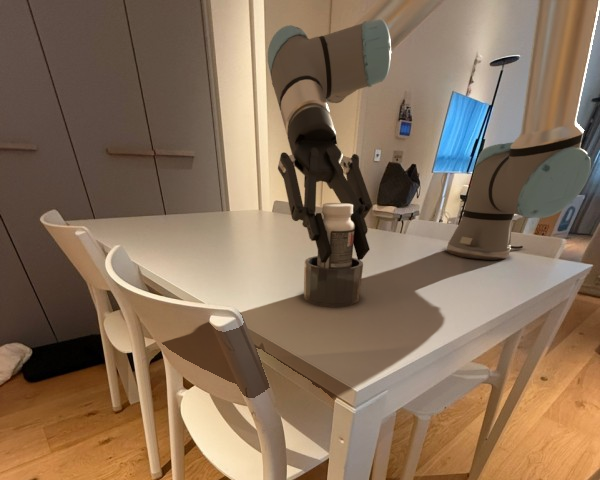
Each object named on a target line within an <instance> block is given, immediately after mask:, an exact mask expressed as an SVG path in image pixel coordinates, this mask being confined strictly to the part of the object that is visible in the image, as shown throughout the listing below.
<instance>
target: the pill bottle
mask: <svg viewBox="0 0 600 480" xmlns="http://www.w3.org/2000/svg"><path fill="white" fill-rule="evenodd" d="M321 214H322V216H323V222H324V225H325V229H326V233H327V236H328V240H329V243H330V247H331V251H332V253H331V255H330V256H329V258H328V260H327V261H326V263H321V259H320V256H319V252H318V251H317V256H318V258H317V266H318V267H323V268H335V269H340V268H351V265H352V258H353V254H354V253H353V251H354V244H353V242H354V231H355V225H354V222H353V221H352V220H351V215H352V214H353V205H352V204H347V203H341V202H325V203H323V204H322V208H321Z"/></svg>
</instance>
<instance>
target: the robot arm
mask: <svg viewBox="0 0 600 480" xmlns="http://www.w3.org/2000/svg"><path fill="white" fill-rule="evenodd" d="M446 1H447V0H376V1H375V3H374V4H373V5H372V6H370V8H369V9H368V10H367V11H366V12H365V13H364V14H363V15H362V16H361V17H360V18H359V20H357V21H356V22H355V23H354V25H352V26H350V27H346V28H343V29H340V30H336V31H334V32H331V33H327V34H324V35H320V36H315V37H312V38H308V36H307V34H306V32H305V31H304V30H303V29H302V28H301V27H298V26H295V25H293V24H290V25H285V26H282V27H281V28H279V29H278V30H277V31H276V32H275V33H274V35H273V36H272V38H271V40H270V41H269V44H268V49H267V65H268V69H269V74H270V78H271V84H272V88H273V90H274V93H275V96H276V100H277V104H278V107H279V111H280V114H281V115H280V116H281V119H282V122H283V125H284V129H285V133H286V136H287V140H288V145H289V148H290V151H291V154H290V155H289V154H288V153H287V152H284V151H283V152H281V153H280V157H279V161H278V165H277V170H278V171H279V174H280V175H281V177H282V179H283V182H284V188H285V191H286V192H285V193H286V196H287V202H288V206H289V210H290V215H291V219H292V220H293V221H294V222H298V221H302V223H301V225H302V227H304V228H306V230H307V232H308V233H307V234H308V237H309V240H310V241H311V242H315V245H316V248H317V253H318V252H319V256H320V259H321V263H326V261H327V260H328V258H329V256H330V255H331V253H332V251H331V247H330V243H329V240H328V236H327V233H326V229H325V225H324V222H323V219H324V217H323V214H322V212H316V209H317V208H316V206H317V205H316V204H317V203H316V202H317V183H319V182H323V183H326V185H327V186H328V188H329V189H330V190H332V191H333V193H334V194H335V196H336V197H337V199H338V201H339V203H347V204H352V205H353V214H352V215H351V220H352V221H353V222H354V225H355V231H354V242H353V249H354V251H355V254H356V257H357V258H356V259H358V260H360V261H362V260H363V259H364V258H365V256H366V255H367V254H368V253H369V251H370V249H371V248H370V245H369V242H368V238H367V233H368V226H367V221H366V219H365V218H366V217H367V216H368V214H369V213H370V211H371V209H372V208H373V203H372V202H373V201H372V200H371V197H370V194H369V191H368V188H367V185H366V182H365V180H364V177H363V174H362V171H361V168H360V156H359V155H358V154H356V153H353V154H352V155H351V157H348V156H345V155H344V154H343V152H342V150H341V149H340V147H339V146H338V137H337V132H336V129H335V126H334V122H333V120H332V115H331V111H330V108H329V105H328V103H330V104H339V103H341V102H343V101H344V100H345V99H346V98H347V97H348V96H351V95H352V94H353V93H355V92H356V91H358V90H360V89H364V88H367V87H368V88H371V87H372V86H374V85H376V84H379V83H383V81H385V79H386V78H387V77H388V74H389V70H390V67H391V58H392V53H393V52H394V51H395V50H396V49H397V48H398V47H399V46H400V45H402V43H404V42H405V40H407V39H408V38H409V37H410V36H411V35H412V34H414V32H415V31H416V30H417V29H418V28H419V27H420V26H421V25H422V24H423V23H424V22H425V21H427V20H428V18H429V17H430V16H431V15H432V14H434V12H436V11H437V10H438V8H440V7H441V6H442V5H443V4H444V3H445V2H446ZM599 12H600V0H538V1H537V9H536V16H535V25H534V30H533V39H532V47H531V53H530V60H529V69H528V77H527V84H526V92H525V100H524V106H523V114H522V119H521V121H522V122H521V129H520V133H519V135H518V137H517V138H516V139H514V141H513V142H512V141H511V142H506V143H497V144H493V145H489V146H487V147H485V148H483V149H482V150H481V151H480V153H479V154H478V158H477V160H476V163H475V165H474V168H473V175H472V177H471V181H470V186H469V189H468V194H467V198H466V201H465V205H464V209H463V213H462V216H461V220H460V221H459V223H458V225H457V226H456V228H455V230H454V232H453V234H452V236H451V237H450V239H449V240H448V242H447V245H446V252H447V253H449V254H451V255H454V256H457V257H461V258H467V259H473V260H474V259H475V260H485V261H486V260H487V261H495V260H496V261H497V260H505V259H508V257H509V255H510V252H511V249H513V250H515V249H516V250H518V249H523V248H524V246H523V245H511V240H512V239H511V238H512V224H513V223H512V222H513V219H514V217H515V215H518V216H521V217H524V218H526V219H527V218H528V219H533V218H535V219H536V218H537V219H545V218H549V217H552V216H555V215H556V214H559V213H560V212H562V211H563V210H564V209H566V208H567V207H568V206H569V205H570V204H571V203H572V202H573V201H575V200H576V198H577V197H578V196H579V195H580V194H581V192H582V190H583V188H584V187H585V185H586V184H587V182H588V179H589V176H590V174H591V168H592V167H591V166H592V162H591V157H590V156H588V152H587V151H586V150H585V149H583V148H582V147H581V146H582V141H583V136H584V131H585V130H584V129H583V128H582V126H580V124H578V122H577V117H578V113H579V108H580V103H581V98H582V95H583V94H582V93H583V89H584V84H585V79H586V74H587V69H588V66H589V65H588V64H589V60H590V55H591V50H592V45H593V41H594V37H595V30H596V26H597V21H598V18H599V17H598V16H599ZM296 169H297V170H298V171H299V172H300V173H301V174H302V175H303V176H304V182H303V187H304V198H303V199H302V195H301V189H300V185H299V181H298V176H297V172H296Z"/></svg>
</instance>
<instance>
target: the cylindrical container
mask: <svg viewBox="0 0 600 480" xmlns="http://www.w3.org/2000/svg"><path fill="white" fill-rule="evenodd" d="M317 258H318V255H314V256H311V257H308V258H306V259H305V260H304V275H303V298H304V300H305V301H306V302H308V303H310V304H312V305H315V306H319V307H325V308H343V307H348V306H353V305H355V304H356V303H358V302H359V300H360V294H361V293H360V292H361V286H362V276H363V269H364V262H363V261H362V260H358V258H355V257H352V265H351V268H340V269H335V268H323V267H318V266H317Z"/></svg>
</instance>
